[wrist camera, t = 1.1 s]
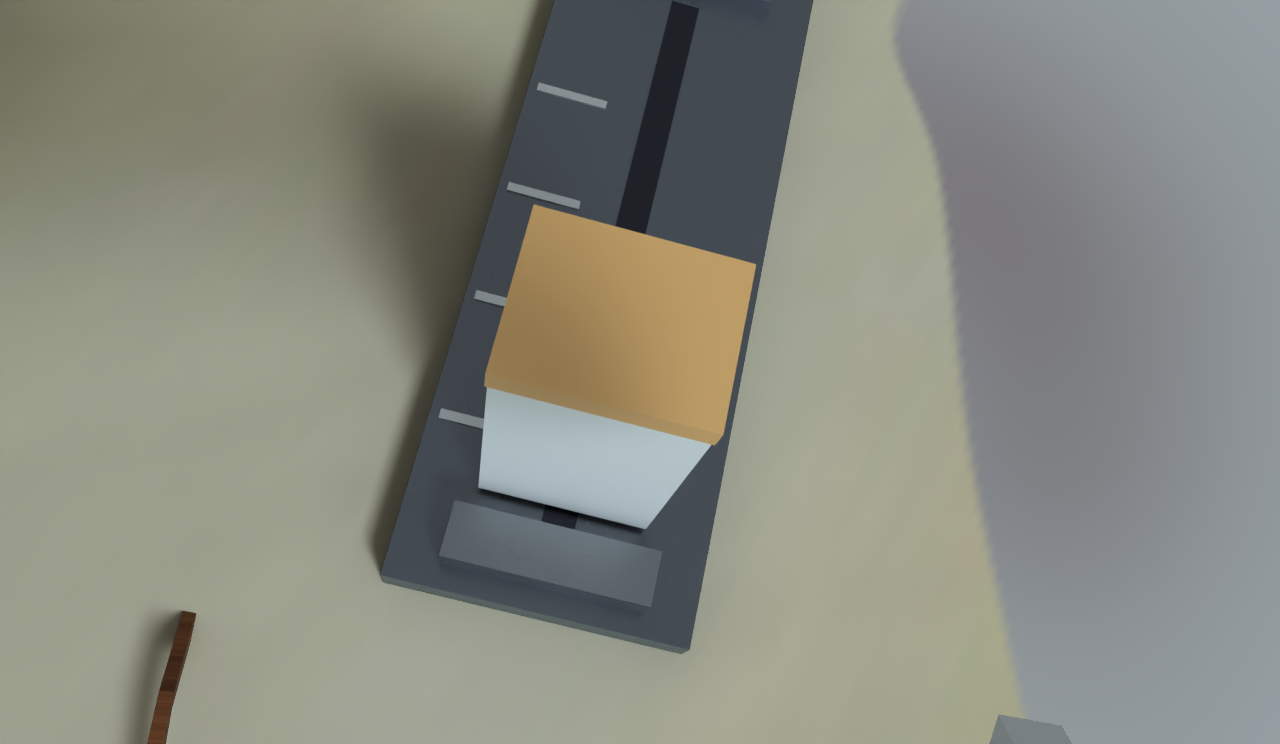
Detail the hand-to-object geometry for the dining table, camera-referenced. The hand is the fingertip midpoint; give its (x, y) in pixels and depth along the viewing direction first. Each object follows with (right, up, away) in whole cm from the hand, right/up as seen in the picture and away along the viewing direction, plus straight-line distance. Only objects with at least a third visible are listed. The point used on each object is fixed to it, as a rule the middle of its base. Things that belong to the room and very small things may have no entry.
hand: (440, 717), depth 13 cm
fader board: (+2, +9, +24) cm, 25 cm away
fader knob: (+1, +2, +19) cm, 19 cm away
